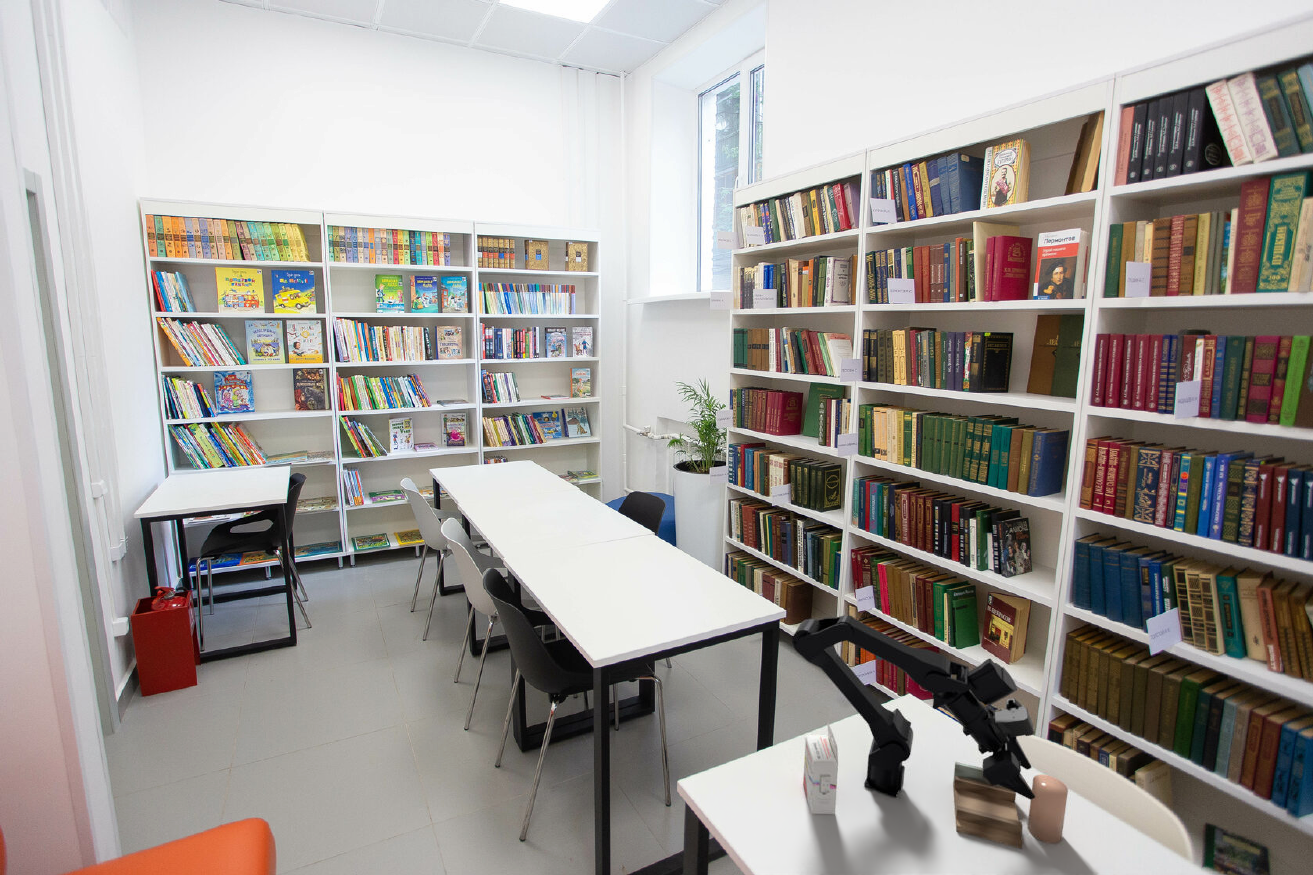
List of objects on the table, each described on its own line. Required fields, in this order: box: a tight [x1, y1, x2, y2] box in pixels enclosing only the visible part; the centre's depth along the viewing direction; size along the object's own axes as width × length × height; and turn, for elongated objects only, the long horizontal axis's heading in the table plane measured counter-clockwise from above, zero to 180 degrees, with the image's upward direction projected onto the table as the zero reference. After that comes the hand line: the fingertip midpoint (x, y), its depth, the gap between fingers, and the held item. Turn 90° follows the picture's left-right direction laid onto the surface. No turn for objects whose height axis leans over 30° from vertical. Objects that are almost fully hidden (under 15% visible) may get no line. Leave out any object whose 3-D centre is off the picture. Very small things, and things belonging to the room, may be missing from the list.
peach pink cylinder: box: [1027, 774, 1069, 845], centre depth 122 cm, size 6×6×10 cm
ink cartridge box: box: [802, 722, 839, 815], centre depth 130 cm, size 9×5×15 cm, turn 179°
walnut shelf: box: [952, 761, 1024, 850], centre depth 127 cm, size 11×14×5 cm
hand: (1031, 782), depth 123 cm, fingers open, 9 cm apart
